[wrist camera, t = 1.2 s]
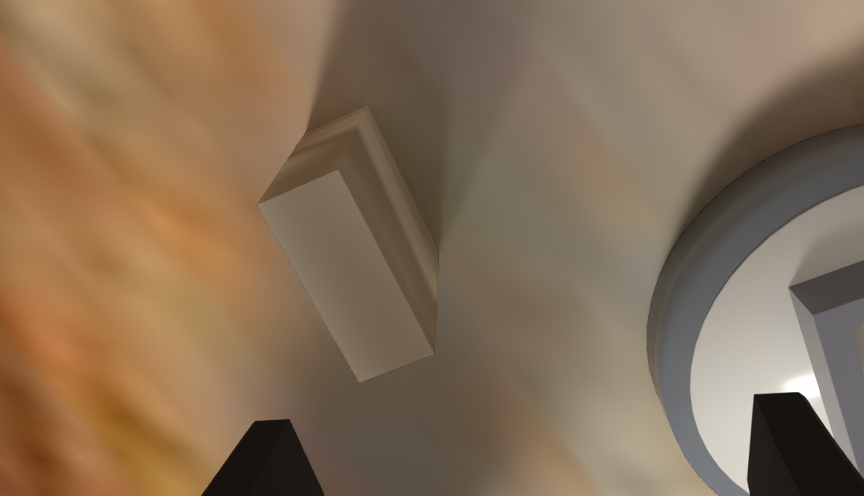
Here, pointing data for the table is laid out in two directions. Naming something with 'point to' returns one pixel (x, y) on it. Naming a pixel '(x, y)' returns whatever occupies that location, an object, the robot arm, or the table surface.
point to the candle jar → (766, 307)
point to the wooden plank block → (357, 244)
